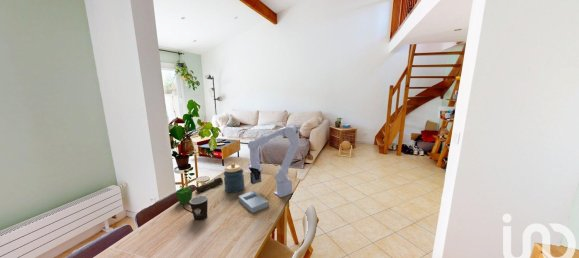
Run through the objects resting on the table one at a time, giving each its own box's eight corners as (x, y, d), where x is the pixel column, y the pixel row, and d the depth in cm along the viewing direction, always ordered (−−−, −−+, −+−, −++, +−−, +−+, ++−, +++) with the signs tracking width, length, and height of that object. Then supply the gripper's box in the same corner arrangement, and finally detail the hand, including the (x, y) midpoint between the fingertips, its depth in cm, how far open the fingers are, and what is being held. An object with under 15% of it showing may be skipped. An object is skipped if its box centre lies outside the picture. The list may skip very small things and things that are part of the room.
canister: (248, 186, 144) (247, 162, 141) (234, 194, 134) (232, 168, 130) (235, 182, 151) (233, 159, 148) (220, 190, 140) (218, 164, 137)
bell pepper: (195, 201, 127) (193, 186, 125) (180, 207, 121) (178, 191, 119) (190, 197, 133) (188, 182, 131) (175, 202, 127) (173, 186, 125)
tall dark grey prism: (259, 180, 139) (258, 170, 137) (261, 181, 136) (260, 171, 135) (250, 183, 135) (250, 172, 134) (253, 184, 133) (252, 174, 131)
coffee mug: (213, 213, 113) (211, 196, 112) (201, 223, 105) (199, 205, 104) (195, 210, 117) (193, 193, 115) (183, 219, 109) (180, 201, 107)
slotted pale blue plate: (253, 195, 132) (253, 190, 132) (268, 206, 119) (268, 201, 118) (238, 200, 126) (238, 196, 126) (252, 213, 113) (252, 207, 112)
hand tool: (198, 193, 137) (197, 187, 136) (195, 192, 140) (195, 185, 139) (224, 184, 151) (224, 177, 150) (221, 182, 153) (221, 176, 152)
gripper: (243, 157, 136) (245, 176, 139) (254, 162, 125) (256, 184, 127) (253, 154, 140) (254, 174, 143) (265, 160, 129) (266, 180, 131)
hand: (256, 178), depth 135 cm, fingers closed on tall dark grey prism, 3 cm apart
